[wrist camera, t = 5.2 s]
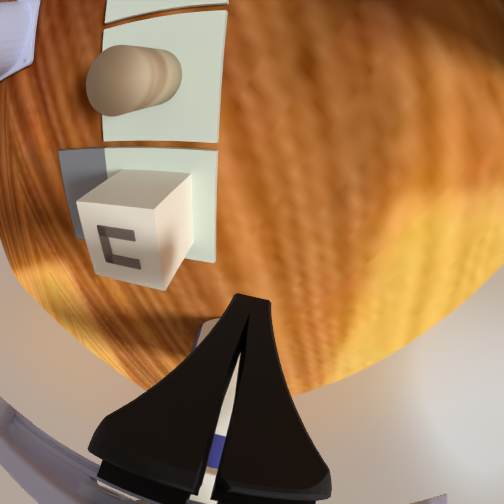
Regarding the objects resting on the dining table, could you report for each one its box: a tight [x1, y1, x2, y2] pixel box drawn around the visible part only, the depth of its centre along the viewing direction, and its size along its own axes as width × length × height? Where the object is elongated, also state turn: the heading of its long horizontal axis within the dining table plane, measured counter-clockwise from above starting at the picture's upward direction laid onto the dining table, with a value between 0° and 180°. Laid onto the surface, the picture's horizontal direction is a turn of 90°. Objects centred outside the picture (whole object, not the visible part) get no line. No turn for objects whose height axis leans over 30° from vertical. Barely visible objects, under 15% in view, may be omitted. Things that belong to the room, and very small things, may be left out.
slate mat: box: [58, 147, 108, 240], centre depth 18 cm, size 5×8×1 cm, turn 175°
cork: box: [86, 45, 182, 117], centre depth 11 cm, size 4×4×4 cm
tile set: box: [102, 0, 229, 263], centre depth 13 cm, size 8×25×1 cm, turn 175°
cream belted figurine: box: [135, 318, 240, 504], centre depth 15 cm, size 8×8×25 cm
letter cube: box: [76, 169, 194, 291], centre depth 15 cm, size 5×5×5 cm
